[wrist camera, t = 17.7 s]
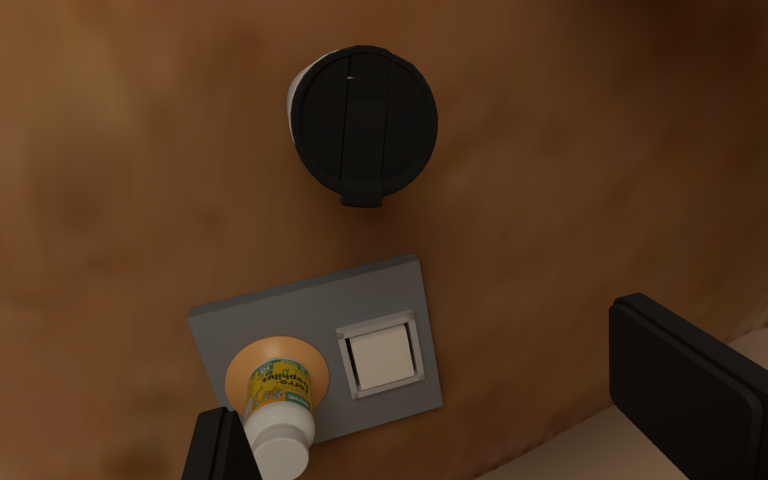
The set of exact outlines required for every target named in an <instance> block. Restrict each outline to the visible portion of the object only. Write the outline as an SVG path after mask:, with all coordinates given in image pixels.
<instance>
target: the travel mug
mask: <svg viewBox="0 0 768 480" xmlns="http://www.w3.org/2000/svg"><path fill="white" fill-rule="evenodd" d="M286 102H287V113H288V120H289V126H290V131H291V135H292V139H293V142H294V144H295V147H296V150H297V152H298V154H299V156H300V158H301V160H302V162H303V164H304V165H305V166H306V168H307V169H308V171H309V172H310V173H311V174H312V175H313V176H314V177H315V178H316V179H317V180H318V181H319V182H320V183H321V184H322V185H324V186H326V187H327V188H329V189H330V190H332V191H334V192H336V193H339V194H341V195H343V196H342V198H341V199H340V202H341V204H342V205H345V206H349V207H360V208H376V207H381V206H382V198H383V197H384V196H387V195H390V194H393V193H395V192H397V191H399V190H401V189H403V188H404V187H405V186H407V185H408V184H409V183H411V182H412V181H413V180H414V179H415V178H416V177H417V176H418V175H419V174H420V173H421V172H422V170H423V169H424V167H425V166H426V164H427V162H428V161H429V159H430V157H431V154H432V152H433V149H434V147H435V142H436V137H437V132H438V115H437V109H436V103H435V100H434V97H433V94H432V92H431V89H430V87H429V85H428V84H427V82H426V80H425V79H424V77H423V75H422V74H421V73H420V72H419V71H418V70H417V69H416V67H415V66H414V65H413V64H411V63H409V62H408V61H406V60H404V59H402V58H400V57H398V56H397V55H393V54H392V53H391V52H389V51H388V50H387V49H383V48H379V47H375V46H363V45H357V46H353V47H348V48H344V49H340V50H336V51H333V52H331V53H329V54H326V55H324V56H322V57H321V58H320V59H318V60H317V61H315V62H314V63H313V64H311V65H310V66H308V67H307V68H305V69H304V70H303V71H301V72H300V73H299V74H298V75H297V76H296V77H295V78H294V80H293V82H292V83H291V85H290V88H289V90H288V94H287V101H286Z"/></svg>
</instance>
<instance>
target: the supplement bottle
mask: <svg viewBox="0 0 768 480" xmlns="http://www.w3.org/2000/svg"><path fill="white" fill-rule="evenodd" d="M244 431H245V433H246V436H247V439H248V441H249V444H250V447H251V449H252V452H253V455H254V458H255V460H256V463H257V466H258V468H259V471H260V474H261V476H262V479H263V480H293V479H295V478H297V477H298V476H299V475H301V474H302V472H303V471H304V470H305V468H306V467H307V464H308V460H309V447H310V446H311V444H312V442H313V440H314V436H315V419H314V409H313V399H312V389H311V381H310V376H309V373H308V371H307V369H306V367H305V366H304V365H303V364H302V363H301V362H299V361H298V360H296V359H293V358H290V357H273V358H271V359H268V360H266V361H264V362H262V363H260V364H259V365H258V366H257V367H256V368H255V369H254V370H253V371H252V373H251V375H250V378H249V381H248V389H247V398H246V409H245V418H244Z"/></svg>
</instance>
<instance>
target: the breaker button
mask: <svg viewBox="0 0 768 480" xmlns="http://www.w3.org/2000/svg"><path fill="white" fill-rule="evenodd" d="M349 340H350V344H351V349H352V353H353V357H354V361H355V365H356V370H357V374H358V378H359V381H360V385H361V389H362V390H365V389H369V388H372V387H376V386H379V385H383V384H386V383H390V382H393V381H397V380H400V379H404V378H407V377H411V376H414V370H413V365H412V359H411V354H410V349H409V343H408V338H407V333H406V328H405V326H404V324H403V323H402V324H398V325H394V326H391V327H387V328H383V329H379V330H376V331H372V332H368V333H365V334H361V335H357V336H353V337H350V338H349Z"/></svg>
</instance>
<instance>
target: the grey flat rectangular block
mask: <svg viewBox="0 0 768 480" xmlns="http://www.w3.org/2000/svg"><path fill="white" fill-rule="evenodd" d="M187 321H188V323H189V326H190V329H191V331H192V334H193V337H194V339H195V342H196V345H197V347H198V350H199V353H200V355H201V358H202V361H203V363H204V366H205V369H206V371H207V374H208V377H209V379H210V382H211V385H212V387H213V390H214V393H215V395H216V398H217V401H218V403H219V406H220V407H223V406H225V407H227V408H228V410H229V412H230V411H233V410H236V411H237V412H238V415H239V417H240V420H241V423H242V425H243V428H244V418H245V409H246V398H247V389H248V381H249V378H250V375H251V373H252V371H253V370H254V369H255V368H256V367H257V366H258V365H259V364H260V363H262V362H264V361H266V360H268V359H271V358H273V357H290V358H293V359H296V360H298V361H299V362H301V363H302V364H303V365H304V366H305V367H306V369H307V371H308V373H309V376H310V381H311V389H312V399H313V409H314V419H315V436H314V440H313V442H312V444H311V445H313V444H316V443H320V442H323V441H326V440H330V439H333V438H337V437H340V436H343V435H347V434H350V433H353V432H357V431H360V430H364V429H367V428H370V427H374V426H377V425H380V424H384V423H387V422H391V421H394V420H397V419H401V418H404V417H408V416H411V415H414V414H418V413H421V412H424V411H428V410H431V409H435V408H438V407H441V406H443V401H442V395H441V389H440V383H439V377H438V370H437V364H436V358H435V352H434V346H433V340H432V334H431V328H430V322H429V316H428V310H427V304H426V298H425V292H424V286H423V280H422V274H421V268H420V262H419V259H418V258H417V257H416V255H415V254H414V253H409V254H405V255H401V256H397V257H393V258H389V259H385V260H381V261H377V262H373V263H369V264H365V265H361V266H357V267H353V268H349V269H345V270H341V271H337V272H333V273H329V274H325V275H321V276H316V277H312V278H308V279H304V280H300V281H296V282H292V283H288V284H284V285H280V286H276V287H272V288H268V289H264V290H260V291H256V292H252V293H248V294H244V295H240V296H236V297H232V298H228V299H224V300H220V301H216V302H212V303H208V304H204V305H200V306H196V307H192V308H191V309H190V312H189V314H188V317H187ZM402 323H404V326H405V328H406V333H407V338H408V343H409V349H410V354H411V359H412V365H413V370H414V376H411V377H407V378H404V379H400V380H397V381H393V382H390V383H386V384H383V385H379V386H376V387H372V388H369V389H365V390H362V389H361V385H360V381H359V378H358V374H357V373H354V374H353V371H352V367H351V363H350V359H349V354H348V350H347V346H346V342H345V339H346V338H350V337H353V336H357V335H361V334H365V333H368V332H372V331H376V330H379V329H383V328H387V327H391V326H394V325H398V324H402Z"/></svg>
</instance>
